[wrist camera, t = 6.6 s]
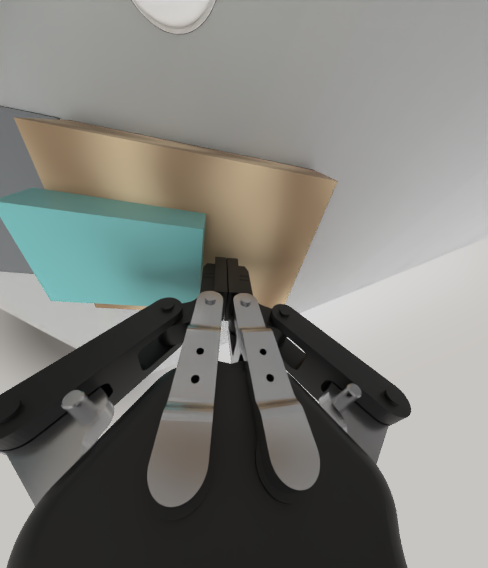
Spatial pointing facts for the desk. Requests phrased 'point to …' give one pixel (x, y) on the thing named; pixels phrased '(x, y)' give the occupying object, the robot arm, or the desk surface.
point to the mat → (15, 181)
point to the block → (106, 247)
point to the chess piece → (175, 13)
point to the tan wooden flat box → (192, 193)
